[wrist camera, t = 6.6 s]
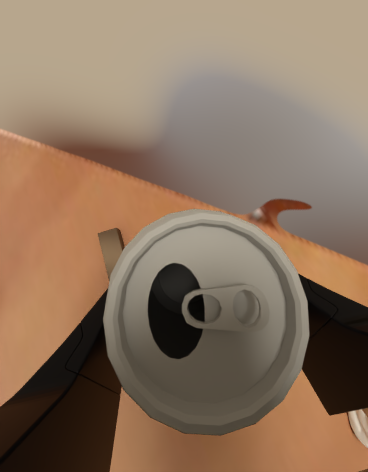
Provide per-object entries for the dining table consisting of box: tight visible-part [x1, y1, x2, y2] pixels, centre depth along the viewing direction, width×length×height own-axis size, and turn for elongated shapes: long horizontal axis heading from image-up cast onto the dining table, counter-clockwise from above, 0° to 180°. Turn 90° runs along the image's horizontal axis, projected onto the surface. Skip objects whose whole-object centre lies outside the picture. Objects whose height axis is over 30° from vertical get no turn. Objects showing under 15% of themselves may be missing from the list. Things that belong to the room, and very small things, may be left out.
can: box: [103, 209, 309, 435], centre depth 10 cm, size 8×8×12 cm
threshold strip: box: [98, 228, 125, 281], centre depth 18 cm, size 16×2×1 cm, turn 18°
